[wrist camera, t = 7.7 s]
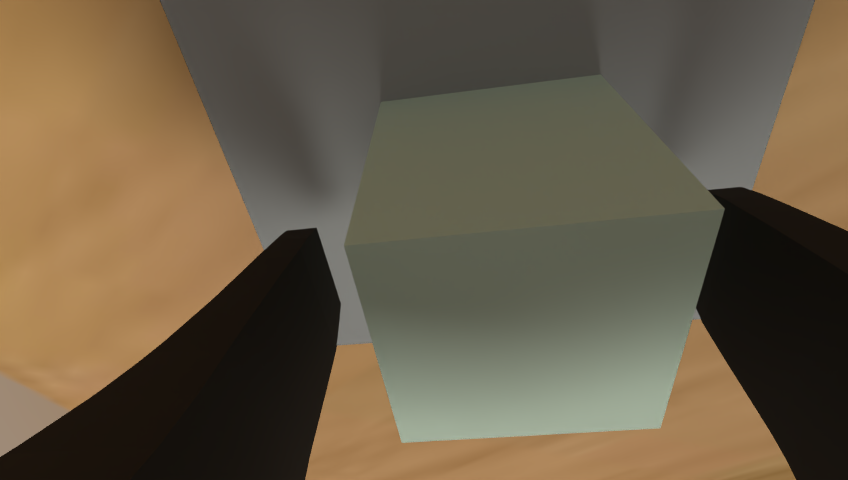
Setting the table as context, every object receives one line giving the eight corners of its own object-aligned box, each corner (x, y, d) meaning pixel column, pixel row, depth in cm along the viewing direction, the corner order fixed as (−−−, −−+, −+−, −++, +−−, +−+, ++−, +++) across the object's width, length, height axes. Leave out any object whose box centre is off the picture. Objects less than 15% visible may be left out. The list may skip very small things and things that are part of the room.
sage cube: (600, 74, 9) (725, 208, 5) (585, 250, 12) (660, 428, 8) (380, 101, 10) (344, 245, 6) (412, 265, 12) (401, 443, 8)
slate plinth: (779, -114, 9) (853, -115, 8) (679, 272, 15) (709, 318, 13) (198, -27, 10) (155, -12, 9) (317, 302, 16) (304, 347, 14)
